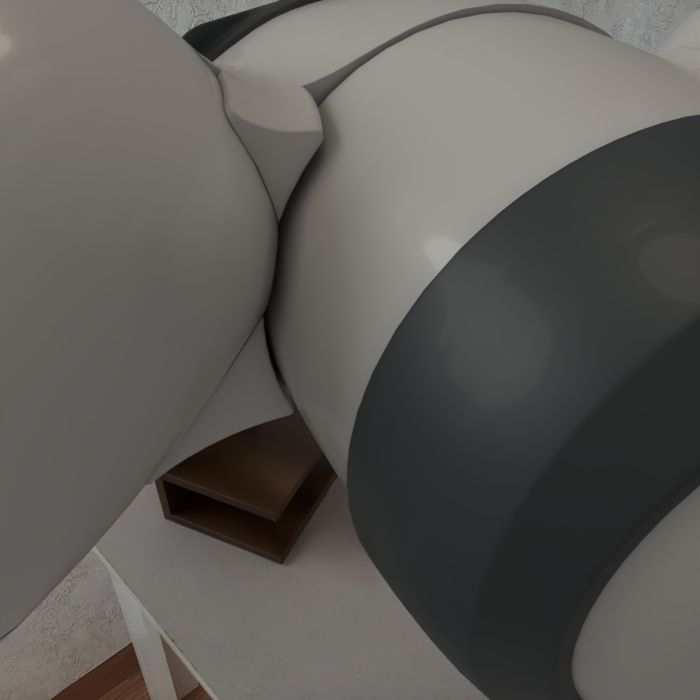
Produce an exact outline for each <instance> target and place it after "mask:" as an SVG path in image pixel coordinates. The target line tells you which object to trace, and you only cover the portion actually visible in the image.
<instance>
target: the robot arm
mask: <svg viewBox="0 0 700 700" xmlns="http://www.w3.org/2000/svg"><path fill="white" fill-rule="evenodd" d="M289 393H290V394H289ZM290 395H291V397H292V399H293V400H294V402H295V404H296V406H297V408H298V410H299V412H300V414H301V415H302V417H303V419H304V421H305V423H306V425H307V426H308V428H309V430H310V431H311V433H312V435H313V436H314V438H315V440H316V441H317V443H318V445H319V446H320V448H321V450H322V451H323V453H324V454H325V456H326V458H327V459H328V461H329V462H330V464H331V466H332V467H333V469H334V471H335V472H336V474H337V475H338V476H337V477H338V479H339V480H340V482H341V483H342V485H343V486H344V488H345V490H346V492H347V504H348V509H349V514H350V518H351V521H352V525H353V528H354V531H355V533H356V535H357V538H358V541H359V542H360V544H361V546H362V548H363V550H364V551H365V553H366V554H367V557H368V558H369V559H370V561H371V562H372V564H373V565H374V567H375V568H376V569H377V571H378V573H379V574H380V575H381V577H382V579H384V581H385V583H386V584H387V585H388V587H389V588H390V590H391V592H392V593H393V594H394V596H395V597H396V598H397V599H398V601H399V602H400V603H401V605H403V607H404V608H405V610H406V611H407V612H408V613H409V615H410V616H411V618H412V619H413V620H414V621H415V622H416V624H417V625H418V626H419V627H420V629H421V630H422V632H424V634H425V635H426V636H427V637H428V638H429V640H430V641H431V642H432V643H433V644H434V646H435V647H436V648H437V649H438V650H439V651H440V652H441V653H442V655H444V657H445V658H446V659H447V661H449V663H451V664H452V665H453V667H454V668H455V669H456V670H457V671H458V672H459V673H460V674H461V675H462V676H463V677H464V678H466V680H468V682H470V684H472V685H473V686H474V687H475V688H476V689H477V690H478V691H479V692H480V693H481V694H483V695H484V696H485V697H486V698H487V699H488V700H700V7H699V8H697V9H696V10H695V11H694V12H693V13H691V14H690V15H689V16H688V17H686V19H685V20H684V21H683V22H681V23H680V25H678V26H677V27H676V28H675V29H674V30H673V31H672V32H671V33H670V34H669V35H668V36H667V37H666V39H664V41H663V42H662V43H661V44H660V45H659V46H658V48H657V49H656V50H655V51H654V52H653V53H652V52H649V51H647V50H644V49H642V48H638V47H636V46H633V45H630V44H628V43H627V42H626V43H625V42H622V41H620V40H617V39H615V38H614V37H612V35H610V34H609V33H608V32H607V31H605V30H604V29H602V28H601V27H598V26H597V25H595V24H593V23H592V22H590V21H589V20H587V19H585V18H583V17H580V16H577V15H574V14H572V13H569V12H566V11H564V10H561V9H558V8H555V7H551V6H547V5H544V4H541V3H536V2H533V1H529V0H276V1H272V2H270V3H266V4H263V5H260V6H256V7H253V8H249V9H246V10H242V11H239V12H236V13H233V14H229V15H226V16H222V17H219V18H216V19H212V20H208V21H205V22H203V23H200V24H197V25H195V26H194V27H191V28H190V29H188V30H187V31H186V32H185V33H184V34H183V35H182V36H180V35H179V34H178V33H177V32H176V31H175V30H173V29H172V28H171V27H170V26H169V25H168V24H167V23H166V22H165V21H164V20H162V19H161V18H160V17H159V16H158V15H157V14H155V12H153V11H151V10H150V9H149V8H147V7H146V6H144V5H143V4H141V2H140V1H137V0H0V644H2V643H3V642H4V641H5V640H6V639H7V638H8V637H10V635H11V634H12V633H14V631H16V629H17V628H18V627H20V625H21V624H23V622H25V620H26V619H27V618H28V617H29V616H30V615H31V614H32V613H33V612H34V611H35V610H36V609H37V608H38V607H39V606H40V604H42V603H43V601H45V600H46V598H47V597H48V596H50V594H51V593H53V591H54V590H55V589H56V588H57V587H58V586H59V585H60V584H61V583H62V582H63V581H64V579H66V578H67V576H68V575H70V573H71V572H72V571H73V570H74V569H75V568H76V567H77V566H78V565H79V564H80V563H81V562H82V561H83V559H85V557H87V556H88V554H89V553H90V551H91V550H93V548H95V546H96V545H97V544H98V543H99V541H100V540H101V539H102V538H103V537H104V536H105V535H106V534H107V532H109V530H110V529H111V528H112V526H113V525H115V523H116V522H117V521H118V520H119V518H120V517H121V516H122V515H123V514H124V513H125V511H126V510H127V509H128V508H129V507H130V506H131V504H132V503H133V502H134V501H135V499H136V498H137V496H138V495H139V494H140V493H141V492H142V490H143V489H144V488H145V486H149V485H151V484H152V483H154V482H155V480H156V479H158V478H159V477H160V476H162V475H163V474H164V473H166V472H167V471H168V470H170V469H171V468H173V467H174V466H176V465H177V464H179V463H180V462H182V461H183V460H185V459H187V458H188V457H190V456H192V455H193V454H195V453H197V452H199V451H200V450H202V449H204V448H206V447H208V446H210V445H212V444H214V443H216V442H218V441H220V440H222V439H224V438H226V437H228V436H231V435H233V434H235V433H238V432H240V431H242V430H245V429H248V428H251V427H253V426H256V425H259V424H262V423H264V422H268V421H271V420H275V419H278V418H281V417H285V416H289V415H291V414H292V413H293V412H294V408H293V405H292V401H291V397H290Z"/></svg>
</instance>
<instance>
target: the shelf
mask: <svg viewBox="0 0 700 700" xmlns="http://www.w3.org/2000/svg"><path fill="white" fill-rule="evenodd" d="M289 394H290V393H289ZM290 397H291V395H290ZM291 401H292V405H293V408H294V412H293V413H292V414H291V415H289V416H285V417H281V418H278V419H275V420H271V421H268V422H264V423H262V424H259V425H256V426H253V427H251V428H248V429H245V430H242V431H240V432H238V433H235V434H233V435H231V436H228V437H226V438H224V439H222V440H220V441H218V442H216V443H214V444H212V445H210V446H208V447H206V448H204V449H202V450H200V451H199V452H197V453H195V454H193V455H192V456H190V457H188V458H187V459H185V460H183V461H182V462H180V463H179V464H177V465H176V466H174V467H173V468H171V469H170V470H168V471H167V472H166V473H164V474H163V475H162V476H160V477H159V478H158V479H156V480H155V481H154V484H155V488H156V491H157V495H158V499H159V503H160V506H161V510H162V513H163V516H164V519H165V520H167V521H170V522H173V523H175V524H178V525H180V526H183V527H184V528H185V527H186V528H188V529H191V530H193V531H195V532H197V533H201V534H203V535H205V536H208V537H211V538H213V539H216V540H218V541H221V542H223V543H226V544H228V545H231V546H233V547H236V548H239V549H241V550H243V551H247V552H249V553H252V554H253V555H256V556H259V557H262V558H264V559H267V560H269V561H272V562H274V563H277V564H278V565H283V563H284V562H285V560H286V558H287V557H288V555H289V553H290V552H291V550H292V549H293V547H294V545H295V544H296V542H297V541H298V539H299V537H300V536H301V534H302V533H303V531H304V530H305V528H306V526H307V525H308V523H309V522H310V520H311V518H312V517H313V515H314V514H315V512H316V510H317V509H318V507H319V506H320V505H321V502H322V501H323V499H324V498H325V496H326V495H327V493H328V492H329V490H330V489H331V487H332V485H333V483H335V480H336V479H337V477H338V475H337V474H336V472H335V471H334V469H333V467H332V466H331V464H330V462H329V461H328V459H327V458H326V456H325V454H324V453H323V451H322V450H321V448H320V446H319V445H318V443H317V441H316V440H315V438H314V436H313V435H312V433H311V431H310V430H309V428H308V426H307V425H306V423H305V421H304V419H303V417H302V415H301V414H300V412H299V410H298V408H297V406H296V404H295V402H294V400H293V399H292V397H291Z"/></svg>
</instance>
